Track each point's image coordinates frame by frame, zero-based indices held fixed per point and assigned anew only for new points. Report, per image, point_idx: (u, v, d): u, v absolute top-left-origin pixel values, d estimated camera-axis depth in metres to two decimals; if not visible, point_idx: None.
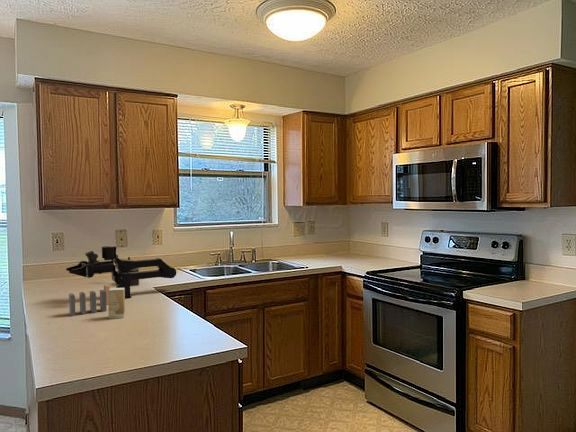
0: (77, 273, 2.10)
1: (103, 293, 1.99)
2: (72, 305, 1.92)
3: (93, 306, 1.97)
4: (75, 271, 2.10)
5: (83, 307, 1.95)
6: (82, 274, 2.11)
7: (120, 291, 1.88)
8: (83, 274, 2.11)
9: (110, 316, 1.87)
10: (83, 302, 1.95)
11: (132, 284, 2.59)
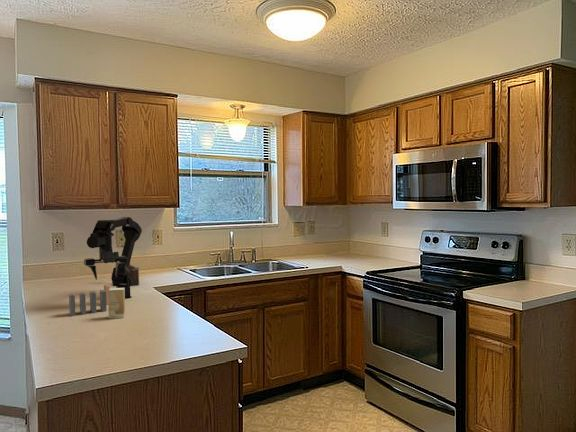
0: None
1: (103, 293, 1.99)
2: (72, 305, 1.92)
3: (93, 306, 1.97)
4: None
5: (83, 307, 1.95)
6: None
7: (120, 291, 1.88)
8: None
9: (110, 316, 1.87)
10: (83, 302, 1.95)
11: None
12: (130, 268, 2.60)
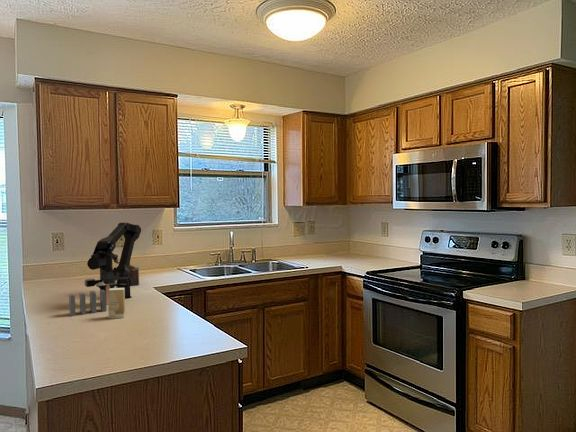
0: None
1: (103, 293, 1.99)
2: (72, 305, 1.92)
3: (93, 306, 1.97)
4: None
5: (83, 307, 1.95)
6: None
7: (120, 291, 1.88)
8: None
9: (110, 316, 1.87)
10: (83, 302, 1.95)
11: None
12: (130, 268, 2.60)
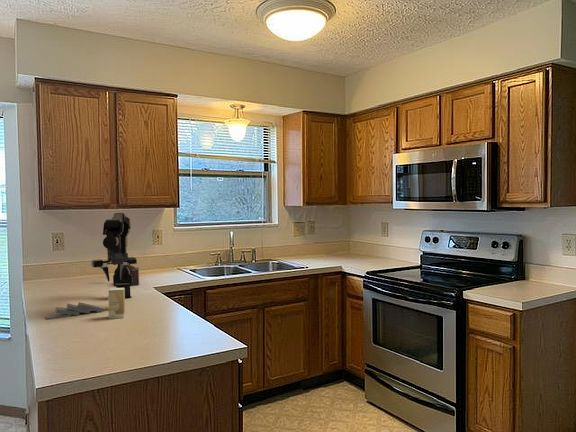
0: None
1: (82, 306, 1.94)
2: None
3: (82, 311, 1.94)
4: None
5: (71, 313, 1.92)
6: None
7: (120, 291, 1.88)
8: None
9: (110, 316, 1.87)
10: (66, 312, 1.91)
11: None
12: (130, 268, 2.60)
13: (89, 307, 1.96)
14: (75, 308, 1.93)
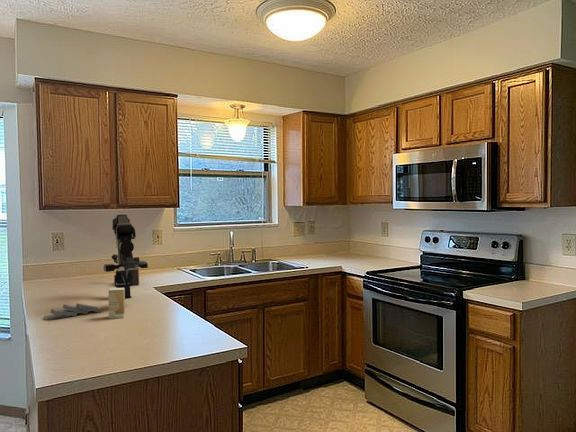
0: None
1: (81, 307, 1.93)
2: None
3: (81, 311, 1.93)
4: None
5: (69, 314, 1.90)
6: None
7: (120, 291, 1.88)
8: None
9: (110, 316, 1.87)
10: (64, 313, 1.88)
11: None
12: None
13: (89, 308, 1.95)
14: (74, 309, 1.91)
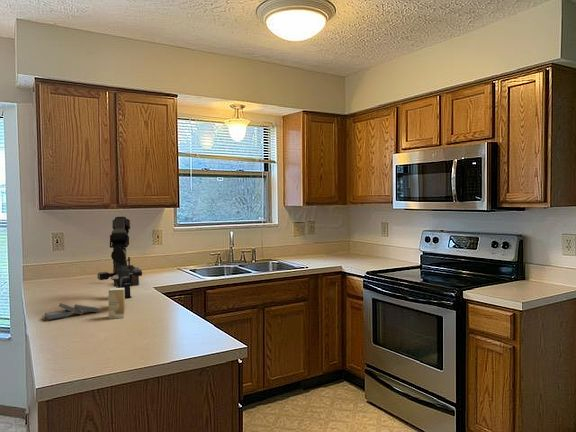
0: None
1: (80, 308, 1.92)
2: None
3: (76, 311, 1.92)
4: None
5: (63, 314, 1.88)
6: None
7: (120, 291, 1.88)
8: None
9: (110, 316, 1.87)
10: (58, 315, 1.87)
11: None
12: None
13: (87, 308, 1.94)
14: (69, 308, 1.90)
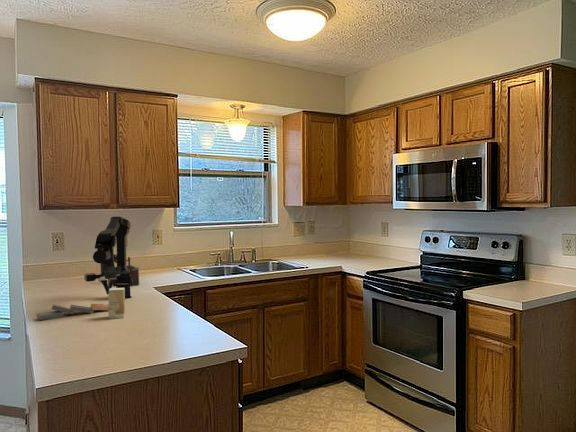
0: None
1: (73, 309, 1.92)
2: None
3: (66, 311, 1.92)
4: None
5: (55, 315, 1.88)
6: None
7: (120, 291, 1.88)
8: None
9: (110, 316, 1.87)
10: (49, 316, 1.87)
11: None
12: (130, 268, 2.60)
13: (81, 309, 1.94)
14: (59, 308, 1.91)
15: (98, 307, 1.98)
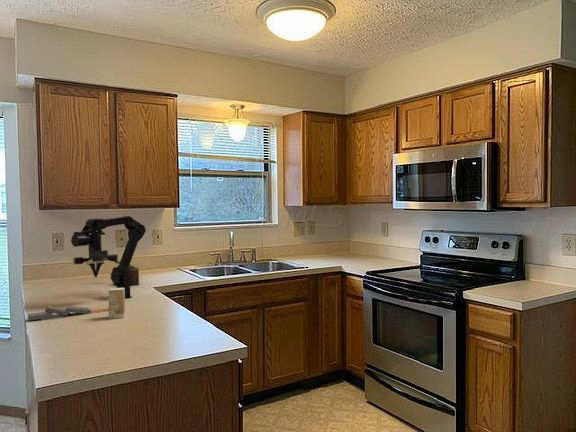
0: None
1: (69, 310, 1.92)
2: None
3: (60, 313, 1.90)
4: None
5: (44, 316, 1.87)
6: None
7: (120, 291, 1.88)
8: None
9: (110, 316, 1.87)
10: (38, 317, 1.86)
11: (132, 284, 2.59)
12: (130, 268, 2.60)
13: (77, 310, 1.93)
14: (52, 310, 1.90)
15: (96, 311, 1.98)
